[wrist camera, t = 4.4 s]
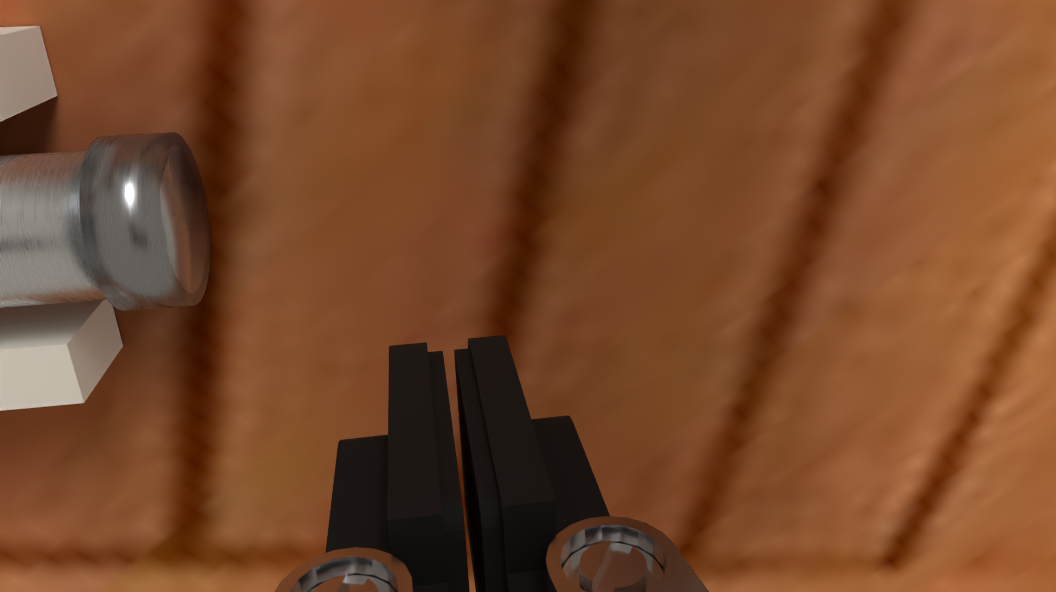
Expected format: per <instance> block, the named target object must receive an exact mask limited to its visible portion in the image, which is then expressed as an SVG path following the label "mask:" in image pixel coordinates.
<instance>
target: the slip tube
mask: <svg viewBox="0 0 1056 592" xmlns="http://www.w3.org/2000/svg"><path fill="white" fill-rule="evenodd" d="M209 267H210V232H209V220H208V212H207V205H206V199H205V194H204V189H203V185H202V181H201V177H200V174H199V170H198V167H197V164H196V162H195V159H194V157H193V154H192V152H191V150H190V148H189V146H188V145H187V143H186V142H185V140H184V139H183V138H182V137H181V136H180V135H179V134H177V133H175V132H173V133H154V134H136V135H117V136H101V137H98V138H96V139H95V140H94V141H93V142H92V143H91V145H90V146H89V148H88V150H87V151H73V152H55V153H37V154H20V155H2V156H0V308H2V307H15V306H28V305H41V304H54V303H67V302H80V301H93V300H106V299H107V300H108V302H109V303H110V304H111V305H112V306H114V307H115V308H116V309H119V310H121V311H132V310H145V309H157V308H170V307H183V306H194V305H197V304H198V303H199V302H200V301H201V299H202V297H203V295H204V293H205V290H206V286H207V282H208V276H209Z"/></svg>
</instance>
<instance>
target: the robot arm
mask: <svg viewBox="0 0 1056 592" xmlns="http://www.w3.org/2000/svg"><path fill="white" fill-rule="evenodd" d="M454 354H455V369H456V383H457V397H458V411H459V425H460V439H461V453H462V467H463V481H464V495H465V508H466V519H467V528H468V535H469V543H470V550H471V558H472V565H473V573H474V580H475V588H476V592H709V591H708V590H707V588H706V587H705V586H704V584H703V583H702V581H701V580H700V579H699V577H698V576H697V575H696V573H695V572H694V570H693V569H692V568H691V566H690V565H689V564H688V562H687V561H686V559H685V558H684V557H683V555H682V554H681V553H680V551H679V550H678V548H677V547H676V546H675V544H674V543H673V542H672V541H671V540H670V539H669V538H668V537H667V536H666V535H665V534H664V533H663V532H661V531H659V530H658V529H656V528H654V527H652V526H650V525H649V524H647V523H644V522H641V521H637V520H634V519H630V518H626V517H614V516H610V515H609V512H608V510H607V507H606V505H605V502H604V500H603V497H602V495H601V492H600V489H599V487H598V484H597V482H596V479H595V477H594V474H593V472H592V469H591V467H590V464H589V462H588V459H587V457H586V454H585V451H584V449H583V446H582V444H581V441H580V439H579V436H578V434H577V431H576V429H575V426H574V424H573V421H572V419H571V418H570V416H559V417H550V418H541V419H531V417H530V414H529V411H528V407H527V404H526V401H525V397H524V394H523V391H522V388H521V384H520V381H519V378H518V375H517V371H516V368H515V365H514V361H513V358H512V355H511V352H510V348H509V345H508V342H507V338H506V336H505V335H502V336H492V337H481V338H470V339H468V349H458V350H454ZM275 592H469V580H468V566H467V553H466V539H465V527H464V516H463V506H462V497H461V489H460V482H459V474H458V466H457V458H456V451H455V443H454V435H453V428H452V420H451V412H450V404H449V397H448V389H447V381H446V373H445V366H444V358H443V351H437V352H428V350H427V343H416V344H405V345H395V346H389V409H388V435H382V436H373V437H363V438H354V439H345V440H340V441H339V443H338V449H337V458H336V467H335V475H334V484H333V493H332V501H331V510H330V519H329V528H328V536H327V545H326V553H324V554H321V555H318V556H315V557H313V558H312V559H310V560H308V561H306V562H305V563H303V564H301V565H299V566H298V567H296V568H295V569H294V570H293V571H292V572H291V573H289V574H288V575H287V576H286V577H285V578H284V579H283V580H282V581H281V582H280V584H279V586H278V587H277V589H276V591H275Z"/></svg>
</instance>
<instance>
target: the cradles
mask: <svg viewBox="0 0 1056 592" xmlns="http://www.w3.org/2000/svg"><path fill="white" fill-rule="evenodd" d="M56 96H58V95H57V91H56V87H55V83H54V80H53V76H52V72H51V68H50V64H49V60H48V57H47V53H46V49H45V45H44V41H43V38H42V34H41V30H40V26H23V27H0V121H3V120H5V119H8V118H10V117H12V116H14V115H16V114H19V113H21V112H23V111H25V110H27V109H29V108H32V107H34V106H36V105H38V104H40V103H43V102H45V101H47V100H49V99H51V98H54V97H56ZM122 347H123V344H122V340H121V336H120V332H119V329H118V325H117V321H116V317H115V313H114V310H113V306H112V305H111V304H110V303H109V302H108V300H107V299H106V300H93V301H80V302H67V303H54V304H41V305H28V306H15V307H2V308H0V411H2V410H13V409H24V408H35V407H46V406H57V405H68V404H79V403H84V402H85V401H86V399H87V398H88V397H89V395H90V394H91V392H92V391H93V389H94V388H95V386H96V385H97V383H98V382H99V380H100V379H101V378H102V376H103V375H104V373H105V372H106V370H107V369H108V367H109V366H110V364H111V363H112V361H113V360H114V359H115V357H116V356H117V354H118V353H119V351H120V350H121V348H122Z"/></svg>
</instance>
